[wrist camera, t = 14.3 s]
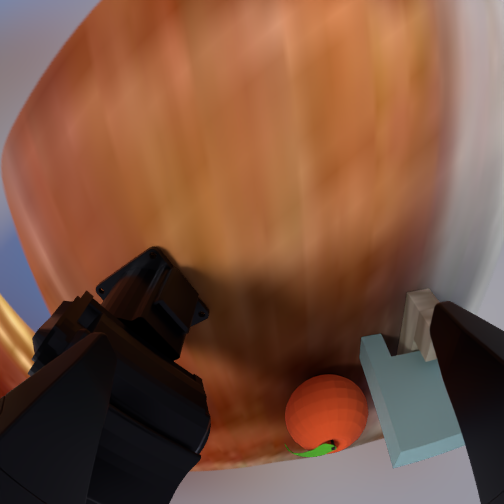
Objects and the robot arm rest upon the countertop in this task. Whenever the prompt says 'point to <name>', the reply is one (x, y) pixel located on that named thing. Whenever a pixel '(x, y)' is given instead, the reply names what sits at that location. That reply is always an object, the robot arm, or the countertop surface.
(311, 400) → the clementine
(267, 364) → the countertop surface
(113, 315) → the robot arm
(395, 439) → the teal slotted plate
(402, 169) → the countertop surface
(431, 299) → the birch slotted plate
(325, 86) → the countertop surface
